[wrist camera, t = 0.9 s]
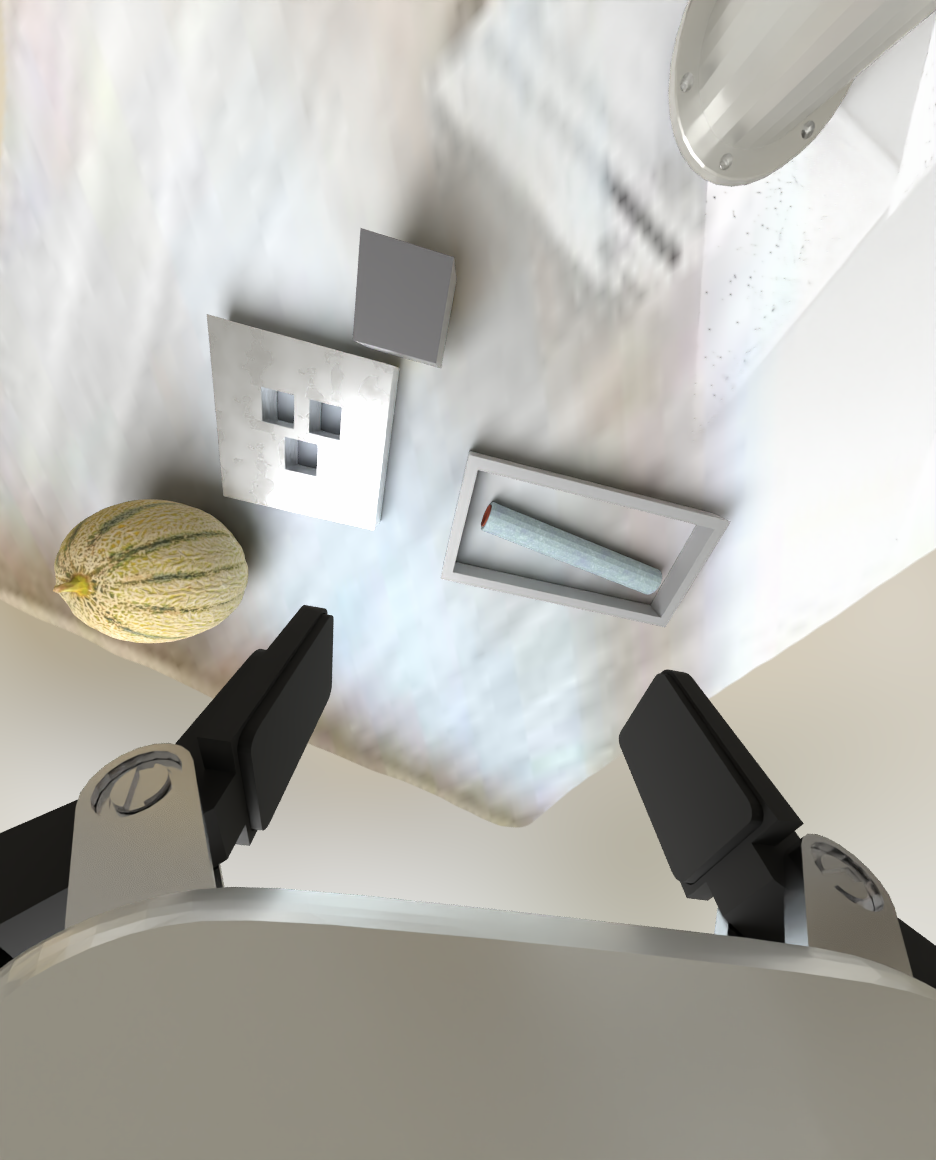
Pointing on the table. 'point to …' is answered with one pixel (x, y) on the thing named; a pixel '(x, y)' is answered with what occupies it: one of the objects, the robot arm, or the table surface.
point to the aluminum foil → (570, 549)
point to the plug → (403, 298)
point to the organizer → (655, 614)
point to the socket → (301, 423)
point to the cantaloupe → (151, 571)
